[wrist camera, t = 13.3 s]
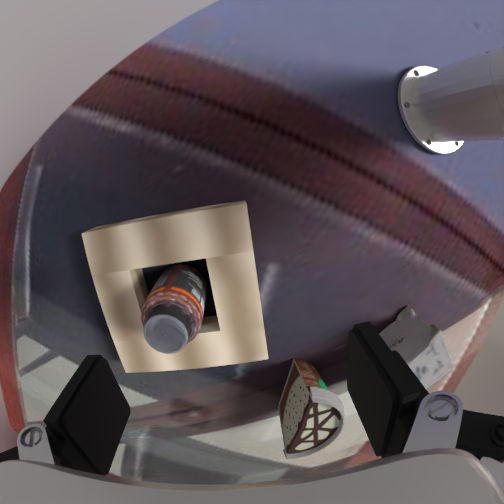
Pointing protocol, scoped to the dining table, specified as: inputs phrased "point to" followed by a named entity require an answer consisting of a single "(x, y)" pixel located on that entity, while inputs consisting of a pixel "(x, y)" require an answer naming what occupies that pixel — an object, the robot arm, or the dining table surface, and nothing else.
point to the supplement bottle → (174, 309)
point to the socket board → (173, 251)
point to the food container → (308, 412)
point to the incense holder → (419, 346)
